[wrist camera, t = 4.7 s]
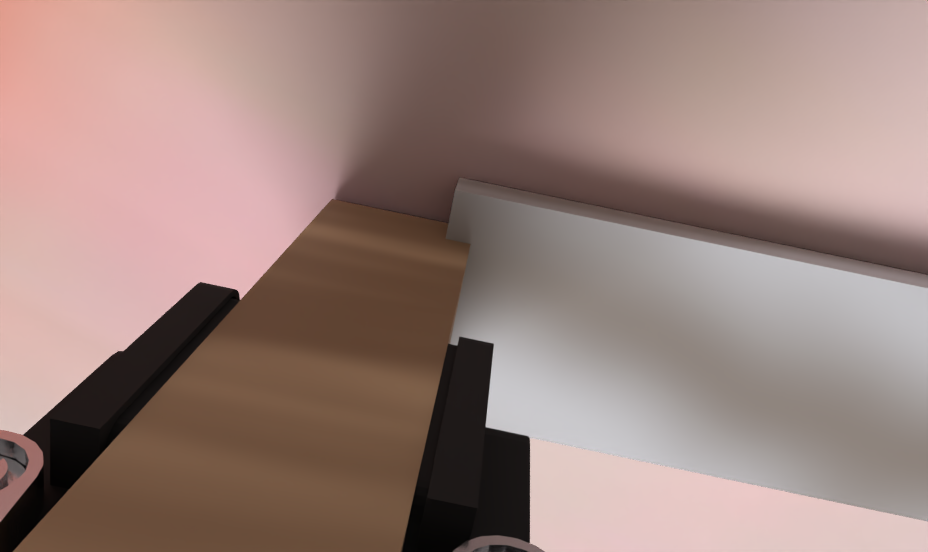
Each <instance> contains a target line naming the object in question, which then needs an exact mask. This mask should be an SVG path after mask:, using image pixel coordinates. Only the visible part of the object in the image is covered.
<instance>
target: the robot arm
mask: <svg viewBox="0 0 928 552" xmlns="http://www.w3.org/2000/svg"><path fill="white" fill-rule="evenodd" d="M239 301H240V298H239V293H238V291H237V290H235V289H230V288H226V287H221V286H216V285H211V284H206V283H202V282H200V283H198V284H197V285H196V286H195V287H194V288H192V289H191V290H190V291H189V292H188V293H187V294H186V295H185V296H184V297H183V298H181V299H180V300H179V301H178V302H177V303H176V304H175V305H174V306H173V307H172V308H170V309H169V310H168V311H167V312H166V313H165V314H164V315H163V316H162V317H161V318H160V319H158V320H157V321H156V322H155V323H154V324H153V325H152V326H151V327H150V328H149V329H147V330H146V331H145V332H144V333H143V334H142V335H141V336H140V337H139V338H138V339H136V340H135V341H134V342H133V343H132V344H131V345H130V346H129V347H128V348H127V349H126V350H124V351H118V352H117V353H115V354H113V355H112V356H111V357H110V358H108V359H107V360H106V361H105V362H104V363H103V364H102V365H101V366H100V367H98V368H97V369H96V370H95V371H94V372H93V373H92V374H91V375H90V376H88V377H87V378H86V379H85V380H84V381H83V382H82V383H81V384H79V385H78V386H77V387H76V388H75V389H74V390H73V391H72V392H71V393H69V394H68V395H67V396H66V397H65V398H64V399H63V400H62V401H61V402H59V403H58V404H57V405H56V406H55V407H54V408H53V409H52V410H50V411H49V412H48V413H47V414H46V415H45V416H44V417H43V418H42V419H40V420H39V421H38V422H37V423H36V424H35V425H34V426H33V427H31V428H30V429H29V430H28V431H27V432H26V433H25V434H24V435H21V434H17V433H13V432H9V431H5V430H0V552H13V551H14V550H15V549H16V548H17V547H18V545H19V544H20V543H21V542H22V541H23V540H24V539H25V538H26V537H27V536H28V534H29V533H30V532H31V531H32V530H33V529H34V528H35V527H36V526H37V524H38V523H39V522H40V521H41V520H42V519H43V518H44V517H45V516H46V515H47V513H48V512H49V511H50V510H51V509H52V508H53V507H54V506H55V505H56V503H57V502H58V501H59V500H60V499H61V498H62V497H63V496H64V495H65V494H66V492H67V491H68V490H69V489H70V488H71V487H72V486H73V485H74V484H75V482H76V481H77V480H78V479H79V478H80V477H81V476H82V475H83V474H84V473H85V471H86V470H87V469H88V468H89V467H90V466H91V465H92V464H93V463H94V462H95V460H96V459H97V458H98V457H99V456H100V455H101V454H102V453H103V452H104V450H105V449H106V448H107V447H108V446H109V445H110V444H111V443H112V442H113V441H114V439H115V438H116V437H117V436H118V435H119V434H120V433H121V432H122V431H123V429H124V428H125V427H126V426H127V425H128V424H129V423H130V422H131V421H132V420H133V418H134V417H135V416H136V415H137V414H138V413H139V412H140V411H141V410H142V408H143V407H144V406H145V405H146V404H147V403H148V402H149V401H150V400H151V399H152V397H153V396H154V395H155V394H156V393H157V392H158V391H159V390H160V389H161V388H162V386H163V385H164V384H165V383H166V382H167V381H168V380H169V379H170V378H171V376H172V375H173V374H174V373H175V372H176V371H177V370H178V369H179V368H180V367H181V365H182V364H183V363H184V362H185V361H186V360H187V359H188V358H189V357H190V355H191V354H192V353H193V352H194V351H195V350H196V349H197V348H198V347H199V346H200V344H201V343H202V342H203V341H204V340H205V339H206V338H207V337H208V336H209V335H210V333H211V332H212V331H213V330H214V329H215V328H216V327H217V326H218V325H219V323H220V322H221V321H222V320H223V319H224V318H225V317H226V316H227V315H228V314H229V312H230V311H231V310H232V309H233V308H234V307H235V306H236V305H237V304H238V302H239ZM493 348H494V344H493V343H488V342H484V341H479V340H474V339H469V338H465V337H460V336H459V341H458V345H453V344H448V346H447V351H446V355H445V359H444V364H443V368H442V373H441V377H440V381H439V386H438V390H437V395H436V399H435V404H434V408H433V412H432V417H431V421H430V426H429V430H428V434H427V439H426V443H425V448H424V452H423V456H422V461H421V465H420V470H419V474H418V478H417V483H416V487H415V492H414V497H413V501H412V506H411V511H410V516H409V521H408V525H407V530H406V535H405V540H404V545H403V550H402V552H545V551H543V550H541V549H540V548H538V547H537V546H535V545H533V544H530V439H529V437H528V436H526V435H521V434H516V433H511V432H507V431H502V430H497V429H492V428H488V427H486V417H487V407H488V398H489V388H490V378H491V368H492V358H493Z"/></svg>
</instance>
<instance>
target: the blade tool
mask: <svg viewBox="0 0 928 552" xmlns="http://www.w3.org/2000/svg"><path fill="white" fill-rule="evenodd" d="M459 336H460V337H465V338H469V339H474V340H479V341H484V342H488V343H493V344H494V348H493V358H492V368H491V378H490V388H489V398H488V407H487V417H486V427H488V428H492V429H497V430H502V431H507V432H511V433H516V434H521V435H526V436H528V437H529V438H533V439H538V440H543V441H548V442H552V443H557V444H562V445H567V446H571V447H576V448H581V449H586V450H590V451H595V452H600V453H605V454H609V455H614V456H619V457H624V458H629V459H633V460H638V461H643V462H648V463H652V464H657V465H662V466H667V467H671V468H676V469H681V470H686V471H690V472H695V473H700V474H705V475H709V476H714V477H719V478H724V479H728V480H733V481H738V482H743V483H747V484H752V485H757V486H762V487H767V488H771V489H776V490H781V491H786V492H790V493H795V494H800V495H805V496H809V497H814V498H819V499H824V500H828V501H833V502H838V503H843V504H847V505H852V506H857V507H862V508H866V509H871V510H876V511H881V512H885V513H890V514H895V515H900V516H905V517H909V518H914V519H919V520H924V521H928V275H926V274H921V273H916V272H912V271H907V270H902V269H897V268H892V267H888V266H883V265H878V264H873V263H868V262H864V261H859V260H854V259H849V258H844V257H840V256H835V255H830V254H825V253H820V252H816V251H811V250H806V249H801V248H796V247H792V246H787V245H782V244H777V243H772V242H768V241H763V240H758V239H753V238H748V237H744V236H739V235H734V234H729V233H724V232H720V231H715V230H710V229H705V228H700V227H696V226H691V225H686V224H681V223H676V222H672V221H667V220H662V219H657V218H652V217H647V216H643V215H638V214H633V213H628V212H623V211H619V210H614V209H609V208H604V207H599V206H595V205H590V204H585V203H580V202H575V201H571V200H566V199H561V198H556V197H551V196H547V195H542V194H537V193H532V192H527V191H523V190H518V189H513V188H508V187H503V186H499V185H494V184H489V183H484V182H479V181H475V180H470V179H465V178H460V177H459V180H458V183H457V186H456V188H455V192H454V197H453V203H452V208H451V213H450V218H449V223H445V222H440V221H435V220H430V219H425V218H421V217H416V216H411V215H406V214H401V213H397V212H392V211H387V210H382V209H377V208H373V207H368V206H363V205H358V204H353V203H349V202H344V201H339V200H334V199H332V200H331V201H330V202H329V203H328V204H327V205H326V206H325V207H324V209H323V210H322V211H321V212H320V213H319V214H318V215H317V216H316V217H315V219H314V220H313V221H312V222H311V223H310V224H309V225H308V226H307V227H306V228H305V230H304V231H303V232H302V233H301V234H300V235H299V236H298V237H297V238H296V240H295V241H294V242H293V243H292V244H291V245H290V246H289V247H288V248H287V249H286V251H285V252H284V253H283V254H282V255H281V256H280V257H279V258H278V259H277V261H276V262H275V263H274V264H273V265H272V266H271V267H270V268H269V269H268V270H267V272H266V273H265V274H264V275H263V276H262V277H261V278H260V279H259V280H258V281H257V283H256V284H255V285H254V286H253V287H252V288H251V289H250V290H249V291H248V293H247V294H246V295H245V296H244V297H243V298H242V299H241V300H240V301H239V302H238V304H237V305H236V306H235V307H234V308H233V309H232V310H231V311H230V312H229V314H228V315H227V316H226V317H225V318H224V319H223V320H222V321H221V322H220V323H219V325H218V326H217V327H216V328H215V329H214V330H213V331H212V332H211V333H210V335H209V336H208V337H207V338H206V339H205V340H204V341H203V342H202V343H201V344H200V346H199V347H198V348H197V349H196V350H195V351H194V352H193V353H192V354H191V355H190V357H189V358H188V359H187V360H186V361H185V362H184V363H183V364H182V365H181V367H180V368H179V369H178V370H177V371H176V372H175V373H174V374H173V375H172V376H171V378H170V379H169V380H168V381H167V382H166V383H165V384H164V385H163V386H162V388H161V389H160V390H159V391H158V392H157V393H156V394H155V395H154V396H153V397H152V399H151V400H150V401H149V402H148V403H147V404H146V405H145V406H144V407H143V408H142V410H141V411H140V412H139V413H138V414H137V415H136V416H135V417H134V418H133V420H132V421H131V422H130V423H129V424H128V425H127V426H126V427H125V428H124V429H123V431H122V432H121V433H120V434H119V435H118V436H117V437H116V438H115V439H114V441H113V442H112V443H111V444H110V445H109V446H108V447H107V448H106V449H105V450H104V452H103V453H102V454H101V455H100V456H99V457H98V458H97V459H96V460H95V462H94V463H93V464H92V465H91V466H90V467H89V468H88V469H87V470H86V471H85V473H84V474H83V475H82V476H81V477H80V478H79V479H78V480H77V481H76V482H75V484H74V485H73V486H72V487H71V488H70V489H69V490H68V491H67V492H66V494H65V495H64V496H63V497H62V498H61V499H60V500H59V501H58V502H57V503H56V505H55V506H54V507H53V508H52V509H51V510H50V511H49V512H48V513H47V515H46V516H45V517H44V518H43V519H42V520H41V521H40V522H39V523H38V524H37V526H36V527H35V528H34V529H33V530H32V531H31V532H30V533H29V534H28V536H27V537H26V538H25V539H24V540H23V541H22V542H21V543H20V544H19V545H18V547H17V548H16V549H15V550H14V551H13V552H402V550H403V545H404V540H405V535H406V530H407V525H408V521H409V516H410V511H411V506H412V501H413V497H414V492H415V487H416V483H417V478H418V474H419V470H420V465H421V461H422V456H423V452H424V448H425V443H426V439H427V434H428V430H429V426H430V421H431V417H432V412H433V408H434V404H435V399H436V395H437V390H438V386H439V381H440V377H441V373H442V368H443V364H444V359H445V355H446V351H447V346H448V344H453V345H458V341H459Z"/></svg>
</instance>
